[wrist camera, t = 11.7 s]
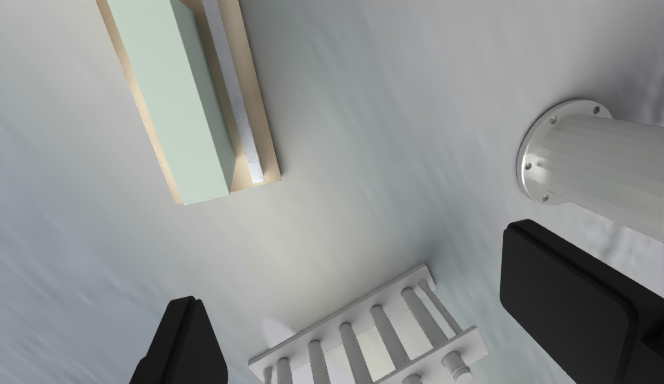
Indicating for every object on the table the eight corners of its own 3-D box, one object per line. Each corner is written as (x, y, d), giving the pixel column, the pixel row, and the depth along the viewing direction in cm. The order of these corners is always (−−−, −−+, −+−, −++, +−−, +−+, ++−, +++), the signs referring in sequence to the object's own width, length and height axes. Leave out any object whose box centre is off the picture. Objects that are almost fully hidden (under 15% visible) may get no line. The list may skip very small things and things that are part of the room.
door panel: (194, 13, 25) (166, -11, 17) (236, 159, 30) (229, 195, 22) (154, 19, 25) (106, -2, 17) (203, 166, 30) (183, 205, 22)
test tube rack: (266, 381, 42) (271, 507, 30) (247, 361, 40) (245, 487, 28) (434, 285, 43) (504, 373, 31) (423, 261, 41) (493, 344, 29)
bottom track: (229, -35, 26) (226, -47, 23) (280, 177, 33) (283, 187, 30) (94, -17, 24) (73, -27, 22) (178, 200, 31) (170, 213, 29)
